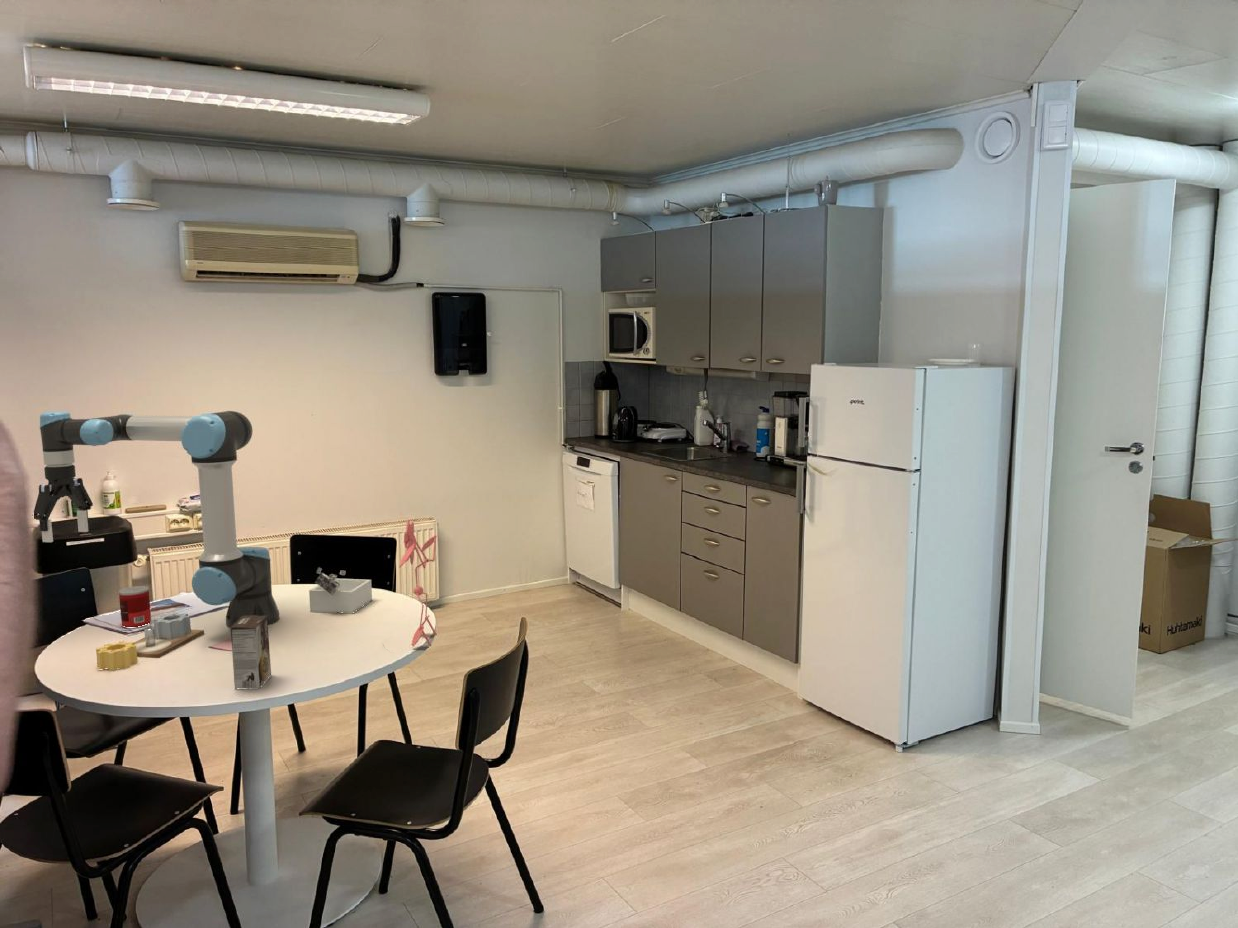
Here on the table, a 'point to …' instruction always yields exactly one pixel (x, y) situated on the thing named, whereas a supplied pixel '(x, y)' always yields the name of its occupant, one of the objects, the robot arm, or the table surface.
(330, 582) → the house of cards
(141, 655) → the gear board
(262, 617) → the coffee box
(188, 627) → the gear
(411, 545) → the figurine
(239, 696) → the table surface
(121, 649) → the ochre gear
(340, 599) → the box
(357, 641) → the table surface
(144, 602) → the canned food
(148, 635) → the peg
